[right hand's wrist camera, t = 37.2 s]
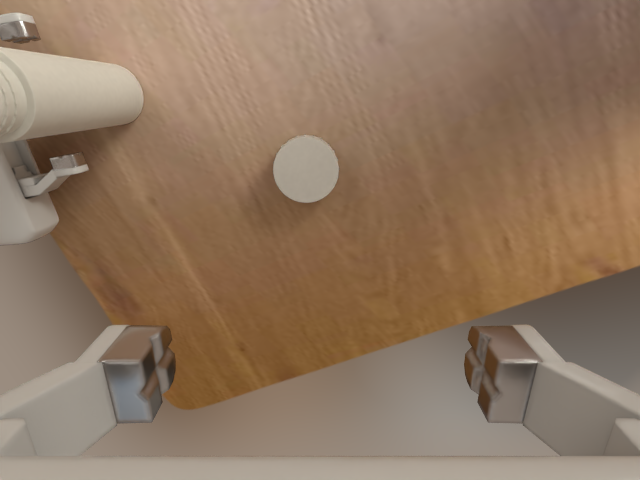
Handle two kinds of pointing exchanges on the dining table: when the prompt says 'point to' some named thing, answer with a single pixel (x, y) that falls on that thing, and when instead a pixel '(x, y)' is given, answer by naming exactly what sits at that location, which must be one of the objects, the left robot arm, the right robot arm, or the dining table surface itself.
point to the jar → (62, 95)
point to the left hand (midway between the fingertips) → (58, 98)
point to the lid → (306, 169)
